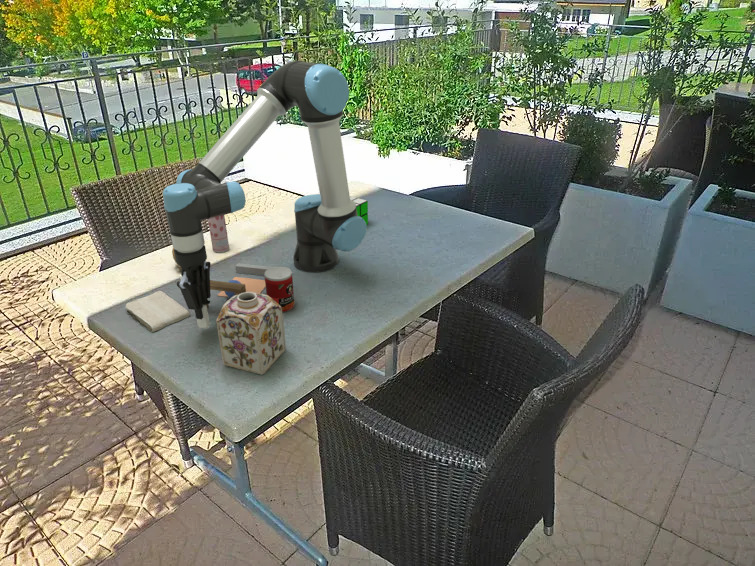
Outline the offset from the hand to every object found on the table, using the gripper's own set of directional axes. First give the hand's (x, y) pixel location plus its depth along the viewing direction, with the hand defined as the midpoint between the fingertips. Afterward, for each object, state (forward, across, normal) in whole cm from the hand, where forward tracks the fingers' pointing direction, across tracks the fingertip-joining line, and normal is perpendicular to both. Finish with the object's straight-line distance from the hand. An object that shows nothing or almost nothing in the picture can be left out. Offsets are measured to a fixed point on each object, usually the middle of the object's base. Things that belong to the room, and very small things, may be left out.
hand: (204, 326), depth 145 cm
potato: (+2, -34, -23) cm, 41 cm away
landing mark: (+2, -24, 0) cm, 25 cm away
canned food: (+2, -18, +15) cm, 23 cm away
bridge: (+2, -10, 0) cm, 11 cm away
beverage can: (+2, -48, -20) cm, 53 cm away
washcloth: (+3, -6, -18) cm, 20 cm away
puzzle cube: (+2, -80, +19) cm, 82 cm away
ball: (-1, -19, 0) cm, 19 cm away
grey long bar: (+2, -34, 0) cm, 35 cm away
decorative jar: (+2, +8, +18) cm, 20 cm away
